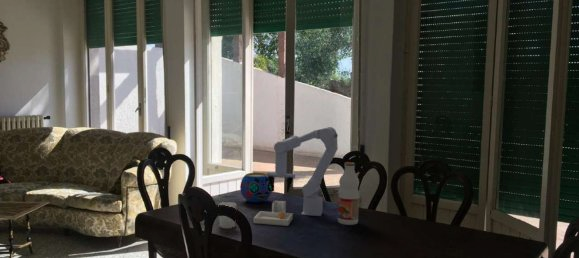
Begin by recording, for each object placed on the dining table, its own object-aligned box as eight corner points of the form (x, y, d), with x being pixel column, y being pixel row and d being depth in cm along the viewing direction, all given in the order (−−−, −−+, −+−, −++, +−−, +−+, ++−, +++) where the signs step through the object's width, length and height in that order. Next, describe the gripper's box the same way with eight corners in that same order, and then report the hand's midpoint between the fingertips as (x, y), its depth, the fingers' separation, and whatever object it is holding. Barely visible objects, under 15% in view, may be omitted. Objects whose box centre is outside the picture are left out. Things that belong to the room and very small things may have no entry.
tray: (292, 218, 220) (292, 213, 220) (288, 225, 209) (288, 220, 208) (259, 216, 223) (259, 211, 223) (253, 223, 211) (253, 217, 211)
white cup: (237, 224, 209) (238, 202, 209) (234, 229, 202) (234, 206, 201) (220, 223, 210) (221, 201, 209) (216, 228, 202) (216, 205, 202)
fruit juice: (360, 225, 213) (363, 164, 210) (341, 225, 211) (343, 164, 209) (354, 219, 222) (356, 161, 220) (335, 219, 220) (337, 161, 218)
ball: (286, 214, 220) (284, 210, 218) (284, 219, 218) (282, 215, 216) (280, 214, 221) (279, 210, 220) (278, 219, 219) (276, 214, 218)
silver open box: (285, 213, 230) (285, 201, 230) (283, 216, 225) (283, 203, 224) (274, 212, 231) (274, 200, 231) (272, 215, 226) (272, 203, 225)
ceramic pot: (248, 207, 241) (248, 178, 240) (235, 199, 256) (235, 172, 255) (278, 203, 249) (278, 176, 248) (263, 196, 265) (264, 170, 264)
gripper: (265, 165, 232) (264, 192, 233) (293, 167, 229) (293, 194, 230) (268, 163, 239) (267, 189, 240) (296, 164, 236) (295, 191, 237)
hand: (280, 191), depth 235 cm, fingers open, 7 cm apart
